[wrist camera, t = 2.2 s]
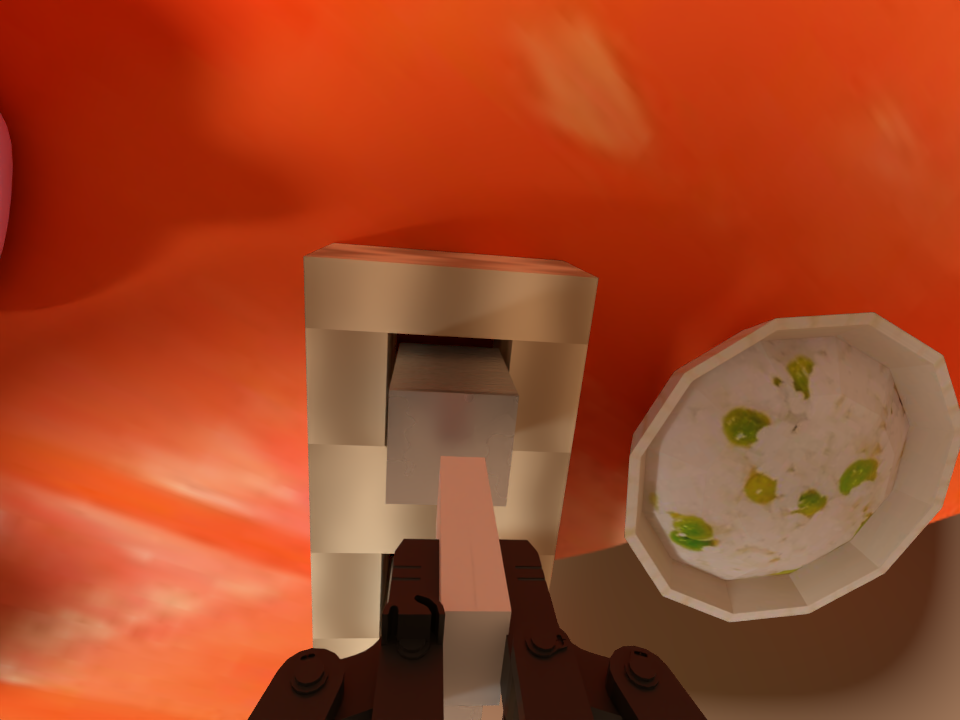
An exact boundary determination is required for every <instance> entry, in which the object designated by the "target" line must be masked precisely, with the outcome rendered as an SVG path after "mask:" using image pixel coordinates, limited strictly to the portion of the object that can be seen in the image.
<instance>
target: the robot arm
mask: <svg viewBox="0 0 960 720" xmlns="http://www.w3.org/2000/svg"><path fill="white" fill-rule="evenodd" d="M500 694H501V695H502V703H503V718H502V720H707V719H706V718H705V716H704V715H703V713H702V712H701V711H700V709H699V708H698V707H697V705H696V704H695V703H694V701H693V700H692V699H691V697H690V696H689V695H688V693H687V692H686V691H685V689H684V688H683V687H682V685H681V684H680V682H679V681H678V680H677V679H676V677H675V676H674V674H673V673H672V672H671V670H670V669H669V668H668V666H667V665H666V664H665V663H664V662H663V661H662V660H661V659H660V658H659V657H658V656H656V655H655V654H653V653H651V652H650V651H648V650H646V649H643V648H640V647H636V646H623V647H621V648H619V649H617V650H615V651H614V653H613V655H612V656H611V658H607V657H604V656H600V655H597V654H594V653H590V652H588V651H585V650H583V649H580V648H579V647H577V646H576V645H574V644H572V643H571V641H570V639H569V638H568V636H567V634H566V633H565V632H564V631H563V630H562V629H560V628H559V625H558V623H557V619H556V615H555V612H554V608H553V605H552V601H551V597H550V594H549V590H548V586H547V583H546V581H545V576H544V572H543V569H542V565H541V561H540V558H539V554H538V552H537V550H536V549H535V548H534V547H533V546H532V545H531V543H530V542H529V541H528V540H508V539H499V537H498V531H497V525H496V520H495V514H494V508H493V502H492V497H491V491H490V485H489V479H488V473H487V468H486V462H485V458H482V457H455V456H441V458H440V472H439V487H438V502H437V517H436V539H403V541H402V542H401V543H400V545H399V546H398V547H397V549H396V550H395V554H394V562H393V570H392V578H391V586H390V594H389V601H388V603H387V604H386V605H385V608H384V610H383V613H382V631H381V637H380V638H379V640H378V641H377V642H376V643H375V644H374V645H373V646H371V647H370V648H368V649H367V650H365V651H363V652H361V653H358V654H356V655H353V656H350V657H346V658H343V659H340V658H339V657H338V656H337V655H336V653H334V652H332V651H329V650H327V649H324V648H311V649H308V650H304V651H301V652H298V653H297V654H295V655H294V656H292V657H290V658H289V659H287V660H286V662H285V663H284V664H283V665H282V666H281V667H280V669H279V670H278V671H277V673H276V675H275V676H274V678H273V679H272V681H271V683H270V684H269V686H268V688H267V689H266V691H265V692H264V694H263V696H262V697H261V699H260V701H259V702H258V704H257V705H256V707H255V709H254V710H253V712H252V714H251V715H250V717H249V718H248V720H444V706H478V705H499V702H500Z"/></svg>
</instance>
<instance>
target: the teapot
mask: <svg viewBox="0 0 960 720" xmlns="http://www.w3.org/2000/svg"><path fill="white" fill-rule="evenodd" d="M12 175H13V160H12V143H11V139H10V135H9V131H8V127H7V125H6V123H5V121H4V119H3V117H2V115H1V113H0V257H1V254H2V250H3V246H4V242H5V237H6V232H7V227H8V221H9V214H10V205H11V194H12Z"/></svg>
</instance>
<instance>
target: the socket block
mask: <svg viewBox="0 0 960 720" xmlns="http://www.w3.org/2000/svg"><path fill="white" fill-rule="evenodd" d="M597 285H598V277H596V276H593V275H591V274H589V273H587V272H585V271H583V270H581V269H579V268H577V267H575V266H573V265H571V264H569V263H567V262H565V261H560V260H547V259H534V258H521V257H508V256H495V255H483V254H470V253H457V252H444V251H431V250H418V249H405V248H392V247H379V246H366V245H353V244H340V243H332V244H330V245H328V246H325V247H323V248H321V249H319V250H316V251H314V252H312V253H309V254H307V255H305V256H304V295H305V336H306V377H307V418H308V459H309V501H310V542H311V583H312V624H313V648H324V649H327V650H329V651H332V652H334V653H336V655H337V656H338V657H339V658H340V659H343V658H346V657H350V656H353V655H356V654H358V653H361V652H363V651H365V650H367V649H368V648H370V647H371V646H373V645H374V644H375V643H376V642H377V641H378V640H379V638H380V637H381V631H382V613H383V610H384V608H385V605H386V604H387V598H388V590H389V581H390V573H391V564H392V558H389V554H395V550H396V549H397V547H398V546H399V545H400V543H401V542H402V541H403V539H436V517H437V505H416V504H385V501H386V468H387V435H388V402H389V387H390V383H391V379H392V375H393V371H394V367H395V362H396V344H397V333H400V334H417V335H434V336H451V337H468V338H485V339H493V348H499V350H500V353H501V355H502V357H503V360H504V362H505V364H506V367H507V369H508V371H509V374H510V376H511V378H512V381H513V383H514V386H515V388H516V390H517V393H518V395H519V401H518V409H517V418H516V426H515V435H514V443H513V452H512V460H511V469H510V477H509V486H508V494H507V503H506V506H493V508H494V514H495V520H496V525H497V531H498V537H499V539H508V540H528V541H529V542H530V543H531V545H532V546H533V547H534V548H535V549H536V550H537V552H538V554H539V558H540V561H541V565H542V569H543V572H544V576H545V581H546V583H547V586H548V590H549V589H550V582H551V576H552V569H553V563H554V557H555V551H556V544H557V538H558V532H559V525H560V519H561V513H562V506H563V500H564V494H565V487H566V481H567V475H568V468H569V462H570V456H571V449H572V443H573V437H574V430H575V424H576V418H577V411H578V405H579V399H580V392H581V386H582V380H583V373H584V367H585V361H586V354H587V348H588V342H589V335H590V329H591V323H592V316H593V310H594V304H595V297H596V291H597Z"/></svg>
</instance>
